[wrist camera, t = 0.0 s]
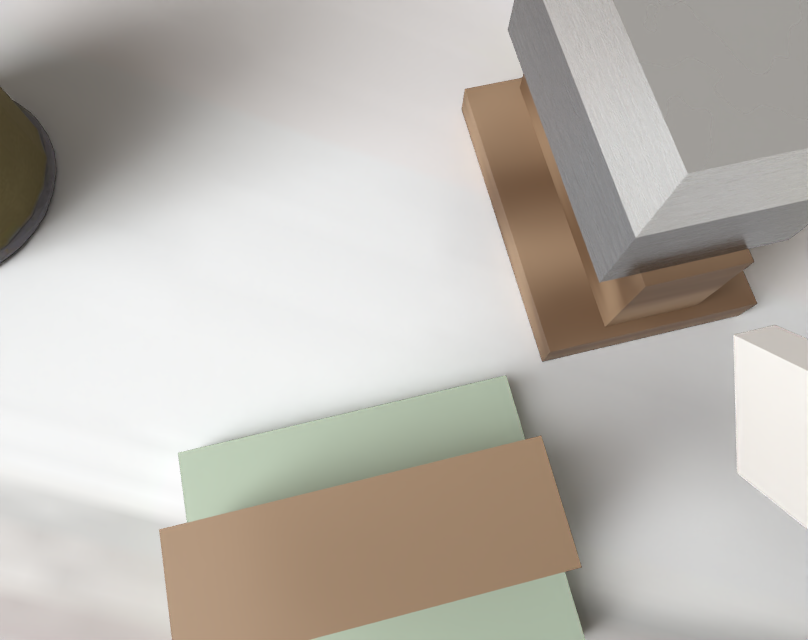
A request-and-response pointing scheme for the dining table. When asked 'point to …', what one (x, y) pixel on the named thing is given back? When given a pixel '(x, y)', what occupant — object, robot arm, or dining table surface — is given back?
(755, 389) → the robot arm
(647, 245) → the base plate
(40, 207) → the canister
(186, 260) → the dining table surface
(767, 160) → the cover plate
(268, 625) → the stand
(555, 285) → the stand
